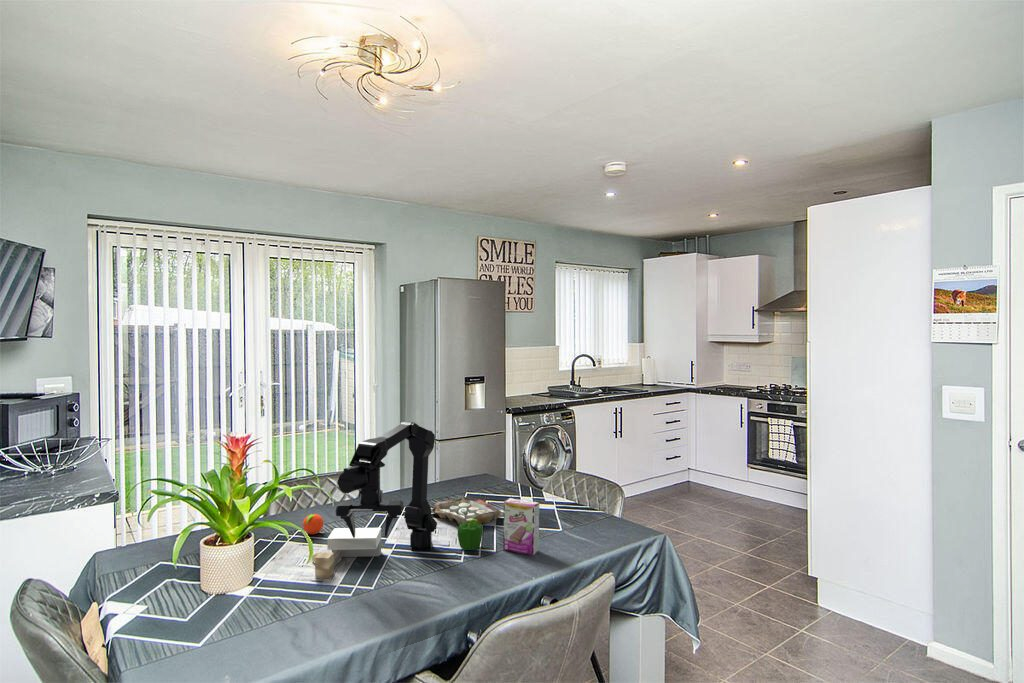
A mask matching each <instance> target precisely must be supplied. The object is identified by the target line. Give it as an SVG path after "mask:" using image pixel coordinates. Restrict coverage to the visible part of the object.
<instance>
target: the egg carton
mask: <svg viewBox="0 0 1024 683" xmlns="http://www.w3.org/2000/svg"><path fill="white" fill-rule="evenodd" d="M433 505H434V506H435V507H433V506H432V507H431V514H434V515H438V517H439V518H440V519H445V520H446V519H449V521H450V522H452V523H453V522H455V521H456V522H457V524H458V525H460V524H462V523H463V522H465V523H469V522H470V520H472V519H477V520H478V521H477V522H475V523H476V524H481V525H482V524H483V523H491V521H492V520H493V519H494V518H495V519H498V518H499V516H500V515H501V514H502V513H504V509H496V508H495V507H493V506H492V504H490V503H488V502H486V501H484V500H481V499H479V498H475V497H466V496H461V497H455V498H450V499H447V500H444V501H443V500H442V501H438V502H436V503H435V504H433Z"/></svg>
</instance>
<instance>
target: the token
mask: <svg viewBox="0 0 1024 683" xmlns="http://www.w3.org/2000/svg"><path fill="white" fill-rule="evenodd" d="M319 553H320V552H316V553H314V554H313V555H312V556H311V562H312V561H313V562H315V557H316V556H317V555H318V554H319ZM313 562H312V563H313Z"/></svg>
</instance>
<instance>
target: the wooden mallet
mask: <svg viewBox="0 0 1024 683" xmlns="http://www.w3.org/2000/svg"><path fill="white" fill-rule="evenodd" d="M318 553H319V554H318V555H317V556H316V557H315V563H314V578H315V577H318V578H317V579H329V578H331V577H332V575H333V574H334V573H333V572H334V568H335V567H336V565H337V564H338V563H339V562H340V561H341V560H342V559H343V557H342V550H338V551H337V552H336V553H335V554H334V553H332V552H327V551H326V552H323V551H321V552H318ZM340 559H341V560H340ZM339 560H340V561H339ZM338 561H339V562H338Z"/></svg>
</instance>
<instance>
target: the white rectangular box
mask: <svg viewBox="0 0 1024 683" xmlns="http://www.w3.org/2000/svg"><path fill="white" fill-rule="evenodd" d="M326 543H327V547H326V548H327V549H326V550H327V551H331V553H334V554H335V553H336V552H337V551H338V550H342V558H344V557H345V558H347V557H348V558H350V557H355V558H356V557H380V556H381V553H382V527H355V538H353V536H352V534H351V532H350V529H349V527H342V528H341V527H340V528H339V527H335V528H333V530H332V531H331V532H330V534H329V536H328V537H327V541H326Z"/></svg>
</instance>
